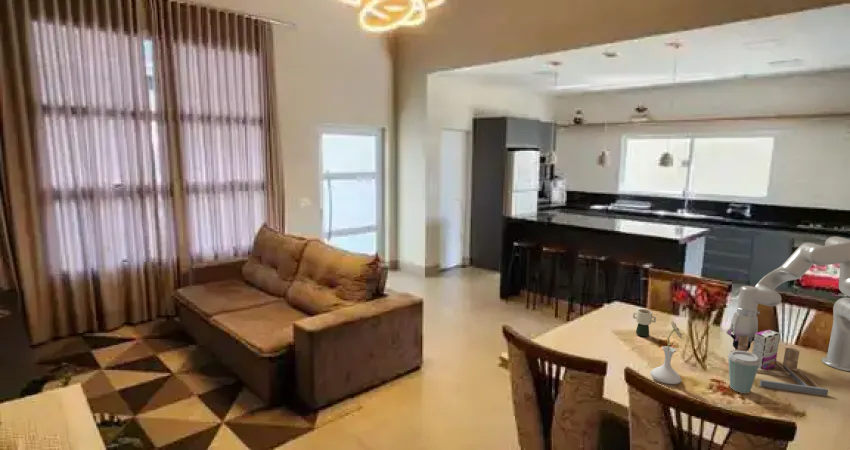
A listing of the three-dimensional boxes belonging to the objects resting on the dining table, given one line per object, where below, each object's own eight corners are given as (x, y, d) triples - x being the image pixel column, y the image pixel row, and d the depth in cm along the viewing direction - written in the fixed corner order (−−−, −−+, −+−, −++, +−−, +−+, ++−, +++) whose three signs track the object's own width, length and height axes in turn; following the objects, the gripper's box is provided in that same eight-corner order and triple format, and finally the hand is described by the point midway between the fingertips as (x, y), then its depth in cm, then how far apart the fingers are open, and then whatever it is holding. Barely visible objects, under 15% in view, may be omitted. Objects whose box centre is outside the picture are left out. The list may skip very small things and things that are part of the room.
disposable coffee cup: (744, 398, 177) (749, 362, 175) (717, 385, 187) (722, 351, 185) (761, 394, 182) (767, 358, 179) (733, 381, 191) (739, 347, 189)
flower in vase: (679, 389, 182) (687, 330, 178) (648, 381, 188) (655, 323, 184) (681, 377, 193) (689, 320, 189) (652, 369, 199) (658, 314, 195)
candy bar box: (763, 363, 209) (768, 329, 207) (775, 367, 205) (781, 333, 202) (748, 367, 205) (754, 332, 202) (761, 372, 200) (766, 336, 197)
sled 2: (794, 367, 206) (797, 348, 204) (822, 392, 184) (826, 371, 183) (781, 366, 207) (784, 347, 206) (808, 390, 185) (812, 369, 184)
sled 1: (765, 354, 218) (769, 335, 217) (789, 376, 197) (793, 355, 195) (729, 350, 222) (731, 331, 221) (748, 371, 201) (751, 350, 199)
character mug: (654, 335, 238) (657, 311, 235) (652, 339, 232) (655, 315, 230) (632, 330, 244) (635, 307, 242) (629, 334, 238) (632, 310, 236)
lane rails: (799, 371, 202) (800, 366, 201) (827, 395, 182) (828, 390, 181) (740, 364, 208) (740, 358, 207) (760, 386, 187) (761, 380, 187)
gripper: (763, 311, 218) (757, 348, 221) (723, 307, 222) (718, 343, 225) (770, 317, 211) (764, 354, 214) (729, 312, 215) (724, 349, 218)
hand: (741, 348), depth 219 cm, fingers closed on sled 1, 4 cm apart
